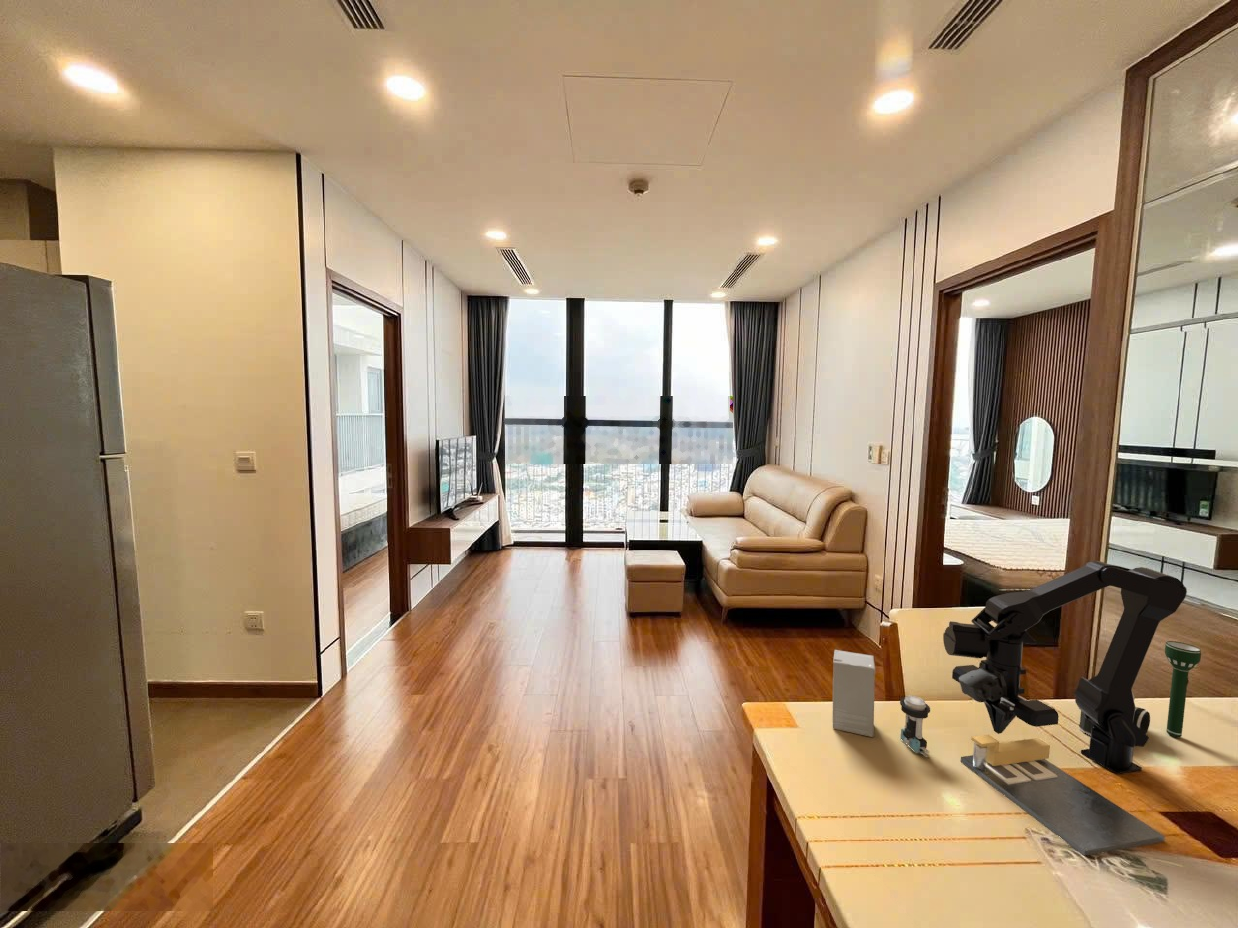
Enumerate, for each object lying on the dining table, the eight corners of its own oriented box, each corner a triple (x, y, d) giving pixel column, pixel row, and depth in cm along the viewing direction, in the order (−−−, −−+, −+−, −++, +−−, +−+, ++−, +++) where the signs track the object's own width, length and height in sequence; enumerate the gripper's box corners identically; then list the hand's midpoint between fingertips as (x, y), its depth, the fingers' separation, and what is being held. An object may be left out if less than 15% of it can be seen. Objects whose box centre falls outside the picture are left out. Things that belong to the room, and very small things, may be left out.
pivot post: (978, 767, 96) (980, 741, 96) (987, 774, 94) (989, 747, 94) (969, 768, 96) (971, 742, 95) (978, 775, 94) (980, 748, 93)
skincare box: (872, 722, 110) (876, 654, 109) (873, 741, 104) (877, 668, 103) (831, 712, 114) (834, 646, 113) (829, 729, 107) (833, 659, 106)
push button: (939, 758, 99) (942, 710, 98) (915, 760, 98) (918, 712, 97) (914, 737, 105) (917, 692, 104) (891, 739, 104) (894, 694, 104)
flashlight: (1191, 745, 104) (1201, 653, 102) (1155, 733, 108) (1164, 644, 106) (1192, 736, 107) (1202, 646, 106) (1157, 724, 111) (1166, 638, 109)
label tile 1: (1025, 755, 98) (1025, 754, 98) (1057, 777, 92) (1057, 775, 92) (1004, 758, 97) (1004, 756, 97) (1035, 780, 91) (1035, 778, 91)
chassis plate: (1027, 752, 101) (1027, 747, 101) (1164, 841, 79) (1164, 835, 79) (960, 761, 98) (961, 756, 98) (1084, 856, 76) (1084, 850, 76)
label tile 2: (1000, 759, 97) (1000, 757, 97) (1030, 780, 91) (1031, 778, 91) (978, 762, 96) (978, 760, 96) (1008, 784, 90) (1008, 782, 90)
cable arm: (979, 767, 94) (981, 743, 93) (969, 760, 96) (971, 736, 95) (1048, 758, 97) (1050, 734, 96) (1037, 751, 99) (1039, 728, 98)
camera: (1124, 751, 102) (1129, 705, 101) (1071, 728, 109) (1075, 685, 109) (1155, 731, 109) (1160, 687, 108) (1103, 710, 117) (1107, 670, 116)
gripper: (932, 642, 109) (928, 710, 110) (1014, 686, 91) (1007, 767, 92) (976, 639, 111) (971, 706, 112) (1063, 681, 93) (1057, 760, 94)
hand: (997, 732), depth 103 cm, fingers closed
